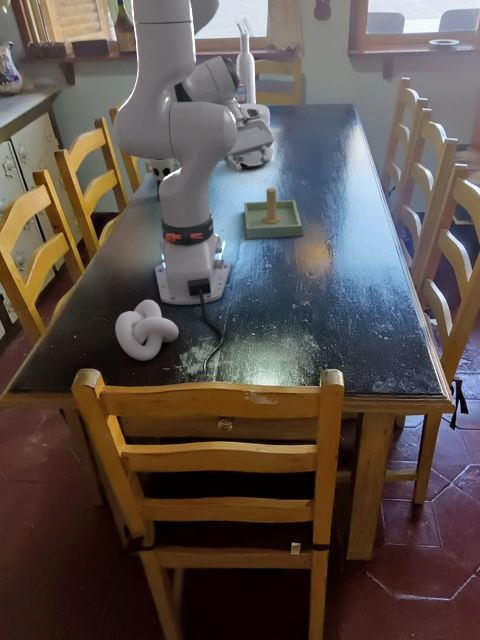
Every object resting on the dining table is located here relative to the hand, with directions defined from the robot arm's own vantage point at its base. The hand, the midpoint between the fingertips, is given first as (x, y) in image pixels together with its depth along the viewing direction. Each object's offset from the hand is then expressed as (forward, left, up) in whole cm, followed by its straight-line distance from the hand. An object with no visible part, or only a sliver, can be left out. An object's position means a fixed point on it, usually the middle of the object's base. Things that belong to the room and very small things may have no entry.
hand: (252, 166), depth 146 cm
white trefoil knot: (-60, +24, -14) cm, 66 cm away
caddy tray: (-7, -5, -14) cm, 16 cm away
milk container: (+43, 0, -14) cm, 45 cm away
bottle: (+113, -2, -14) cm, 114 cm away
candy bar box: (+88, +3, -14) cm, 89 cm away
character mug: (+16, +27, -14) cm, 34 cm away
